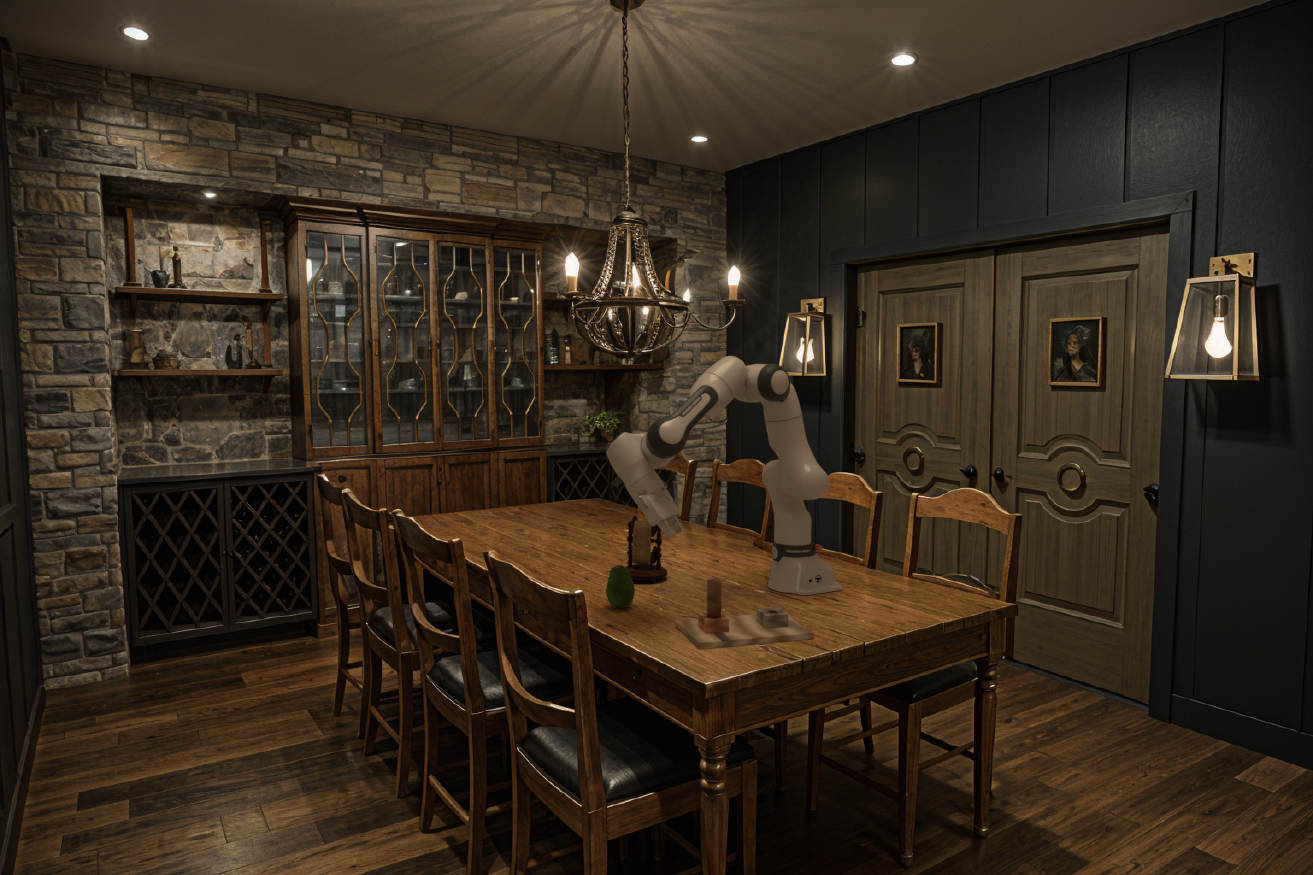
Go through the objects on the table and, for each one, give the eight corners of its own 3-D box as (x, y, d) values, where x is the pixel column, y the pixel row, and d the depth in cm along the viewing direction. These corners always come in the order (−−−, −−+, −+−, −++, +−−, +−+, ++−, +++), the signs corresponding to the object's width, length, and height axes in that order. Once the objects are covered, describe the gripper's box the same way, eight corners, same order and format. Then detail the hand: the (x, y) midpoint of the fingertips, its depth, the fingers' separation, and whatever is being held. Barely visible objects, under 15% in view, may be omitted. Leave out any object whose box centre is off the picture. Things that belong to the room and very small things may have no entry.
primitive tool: (792, 556, 288) (792, 547, 288) (780, 558, 285) (780, 548, 285) (759, 546, 305) (759, 537, 304) (747, 548, 302) (747, 539, 301)
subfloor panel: (781, 617, 214) (782, 600, 214) (813, 638, 197) (814, 620, 196) (675, 625, 205) (675, 608, 205) (698, 649, 188) (699, 629, 188)
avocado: (609, 602, 225) (609, 561, 224) (636, 604, 224) (637, 562, 223) (602, 611, 217) (603, 567, 216) (631, 612, 216) (631, 569, 215)
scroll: (614, 582, 248) (614, 518, 246) (629, 571, 262) (630, 511, 260) (659, 586, 243) (660, 521, 242) (672, 575, 258) (673, 514, 256)
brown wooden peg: (717, 625, 201) (718, 578, 200) (723, 629, 197) (724, 582, 197) (704, 626, 200) (705, 579, 199) (709, 630, 196) (710, 583, 196)
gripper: (646, 485, 197) (677, 532, 195) (666, 481, 217) (694, 524, 215) (626, 499, 198) (656, 546, 196) (647, 494, 218) (675, 536, 216)
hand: (676, 534), depth 206 cm, fingers open, 8 cm apart
